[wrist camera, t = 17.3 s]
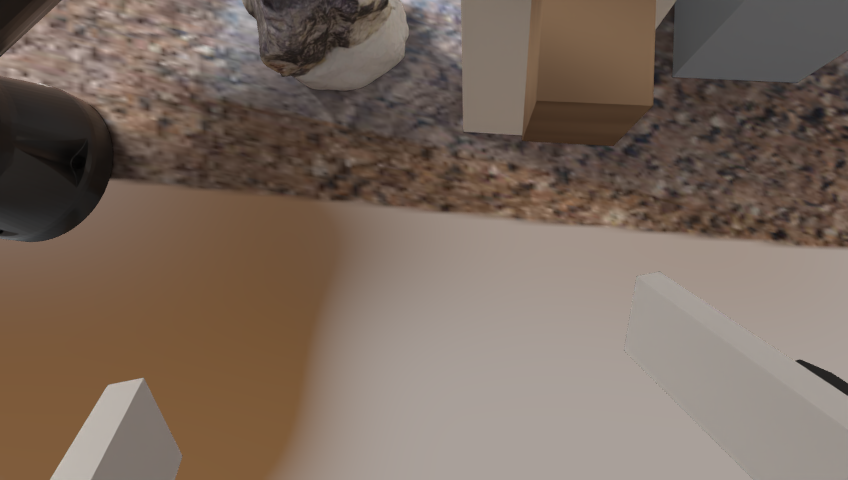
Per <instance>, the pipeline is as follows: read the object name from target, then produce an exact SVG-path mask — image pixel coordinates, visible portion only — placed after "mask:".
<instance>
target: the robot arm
mask: <svg viewBox="0 0 848 480" xmlns="http://www.w3.org/2000/svg"><path fill="white" fill-rule="evenodd" d="M60 1H61V0H0V57H1V56H2V55H3V54H4V53H5V52H6V51H7V50H8V49H9V48H10V47H11V46H13V45H14V44H15V43H16V42H17V41H18V40H19V39H20V38H21V37H22V36H23V35H24V34H26V33H27V32H28V31H29V30H30V29H31V28H32V27H33V26H34V25H35V24H36V23H38V22H39V21H40V20H41V19H42V18H43V17H44V16H45V15H46V14H47V13H48V12H49V11H51V10H52V9H53V8H54V7H55V6H56V5H57V4H58V3H59V2H60ZM112 162H113V150H112V142H111V138H110V134H109V131H108V129H107V126H106V124H105V123H104V121H103V119H102V118H101V116H100V115H99V114H98V113H97V112H96V110H95V109H93V108H92V107H91V106H90V105H89V104H87V103H86V102H84V101H82V100H80V99H79V98H77V97H75V96H73V95H71V94H69V93H67V92H65V91H63V90H60V89H58V88H55V87H52V86H49V85H45V84H40V83H31V82H27V81H22V80H17V79H12V78H7V77H2V76H0V238H1V239H9V240H17V241H25V242H38V241H44V240H49V239H52V238H55V237H58V236H60V235H62V234H65V233H66V232H68V231H70V230H71V229H73V228H74V227H75V226H77V225H78V224H80V223H81V222H82V221H83V220H84V219H85V218H86V217H87V216H88V215H89V214H90V213H91V212H92V211H93V209H94V208H95V207H96V205H97V204H98V202H99V201H100V199H101V197H102V195H103V194H104V192H105V189H106V187H107V184H108V181H109V178H110V175H111V170H112ZM624 351H625V352H626V353H627V354H628V355H629V356H630V357H631V358H632V359H633V360H634V361H635V362H636V363H637V364H638V365H639V366H640V367H641V368H642V369H643V370H644V371H645V372H646V373H647V374H648V375H649V376H650V377H651V378H652V379H653V380H654V381H655V382H656V383H657V384H658V385H659V386H660V387H661V388H662V389H663V390H664V391H665V392H666V393H667V394H668V395H669V396H670V397H671V398H672V399H673V400H674V401H675V402H676V403H677V404H678V405H679V406H680V407H681V408H682V409H683V410H684V411H685V412H686V413H687V414H688V415H689V416H690V417H691V418H692V419H693V420H694V421H695V422H696V423H697V424H698V425H699V426H700V427H701V428H702V429H703V430H704V431H705V432H706V433H707V434H708V435H709V436H710V437H711V438H712V439H713V440H714V441H715V442H716V443H717V444H718V445H719V446H720V447H721V448H722V449H723V450H724V451H725V452H726V453H727V454H728V455H729V456H730V457H731V458H732V459H733V460H734V461H735V462H736V463H737V464H738V465H739V466H740V467H741V468H742V469H743V470H744V471H745V472H746V473H747V474H748V475H749V476H750V477H751V478H752V479H753V480H848V383H846V382H845V381H843V380H842V379H840V378H839V377H837V376H836V375H834V374H832V373H831V372H828V371H826V370H824V369H821V368H819V367H816V366H814V365H812V364H810V363H807V362H805V361H803V360H797V361H794V360H793V359H791V358H790V357H788V356H787V355H785V354H783V353H782V352H781V351H779V350H777V349H776V348H775V347H773V346H772V345H770V344H769V343H767V342H766V341H764V340H762V339H761V338H760V337H758V336H756V335H755V334H753V333H752V332H750V331H749V330H747V329H746V328H744V327H743V326H741V325H740V324H738V323H737V322H735V321H734V320H732V319H731V318H729V317H728V316H726V315H725V314H723V313H722V312H720V311H718V310H717V309H716V308H714V307H713V306H711V305H710V304H708V303H706V302H705V301H704V300H702V299H701V298H699V297H698V296H696V295H695V294H693V293H691V292H690V291H688V290H687V289H686V288H684V287H682V286H681V285H680V284H678V283H676V282H675V281H673V280H672V279H670V278H669V277H667V276H666V275H664V274H663V273H661V272H655V273H649V274H645V275H640V276H637V277H636V282H635V288H634V294H633V301H632V306H631V312H630V318H629V323H628V329H627V336H626V341H625V348H624ZM181 459H182V454H181V452H180V451H179V448H178V446H177V444H176V442H175V440H174V438H173V436H172V434H171V432H170V430H169V428H168V426H167V424H166V422H165V420H164V418H163V416H162V414H161V412H160V410H159V408H158V406H157V404H156V402H155V400H154V398H153V396H152V394H151V391H150V389H149V387H148V385H147V384H146V381H145V379H144V378H140V379H135V380H130V381H126V382H120V383H116V384H111V385H108V386H107V387H106V389H105V391H104V393H103V394H102V396H101V397H100V399H99V401H98V402H97V404H96V405H95V407H94V409H93V410H92V412H91V414H90V415H89V417H88V418H87V420H86V422H85V423H84V425H83V427H82V428H81V430H80V432H79V433H78V435H77V436H76V438H75V440H74V441H73V443H72V445H71V446H70V448H69V450H68V451H67V453H66V454H65V456H64V458H63V459H62V461H61V463H60V464H59V466H58V468H57V469H56V471H55V472H54V474H53V476H52V477H51V479H50V480H175V477H176V474H177V471H178V468H179V465H180V461H181Z"/></svg>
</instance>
